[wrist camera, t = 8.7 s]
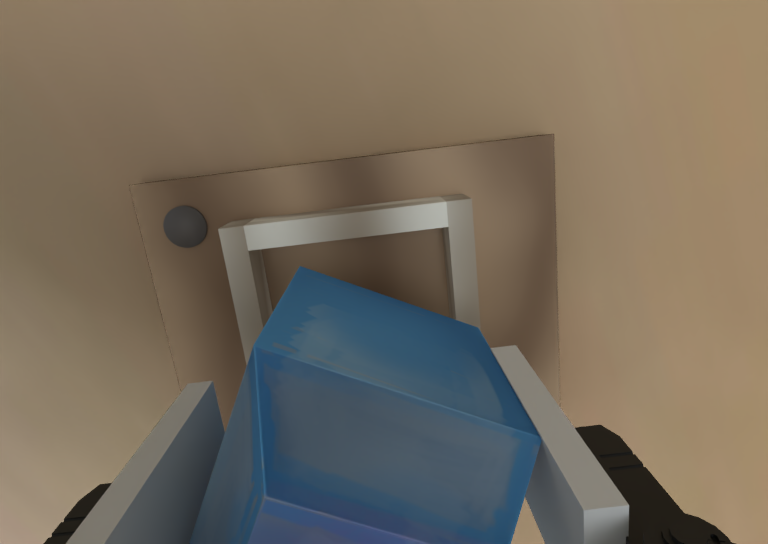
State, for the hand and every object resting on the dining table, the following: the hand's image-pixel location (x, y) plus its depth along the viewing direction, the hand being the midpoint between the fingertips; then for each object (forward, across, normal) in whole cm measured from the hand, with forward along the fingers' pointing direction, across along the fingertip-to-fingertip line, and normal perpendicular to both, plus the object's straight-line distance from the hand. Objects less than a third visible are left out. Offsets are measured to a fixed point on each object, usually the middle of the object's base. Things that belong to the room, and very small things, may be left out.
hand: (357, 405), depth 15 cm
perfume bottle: (+2, 0, 0) cm, 2 cm away
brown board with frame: (+9, 0, 0) cm, 9 cm away
